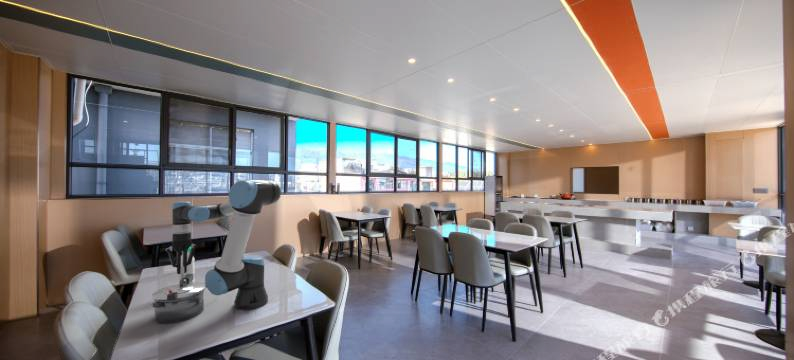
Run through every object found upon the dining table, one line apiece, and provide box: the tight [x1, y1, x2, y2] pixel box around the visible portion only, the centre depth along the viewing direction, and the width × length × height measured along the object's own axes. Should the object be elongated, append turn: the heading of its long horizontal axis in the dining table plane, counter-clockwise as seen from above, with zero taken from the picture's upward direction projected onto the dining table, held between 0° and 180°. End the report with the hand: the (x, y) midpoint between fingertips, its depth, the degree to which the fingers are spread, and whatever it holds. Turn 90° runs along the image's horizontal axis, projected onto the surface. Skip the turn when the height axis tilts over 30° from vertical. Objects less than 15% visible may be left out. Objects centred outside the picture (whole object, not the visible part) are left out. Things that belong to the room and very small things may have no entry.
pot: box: [152, 282, 208, 325], centre depth 136 cm, size 26×19×10 cm
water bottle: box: [178, 246, 196, 284], centre depth 161 cm, size 7×7×25 cm
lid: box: [151, 273, 207, 301], centre depth 136 cm, size 28×20×4 cm
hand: (181, 279), depth 145 cm, fingers closed
